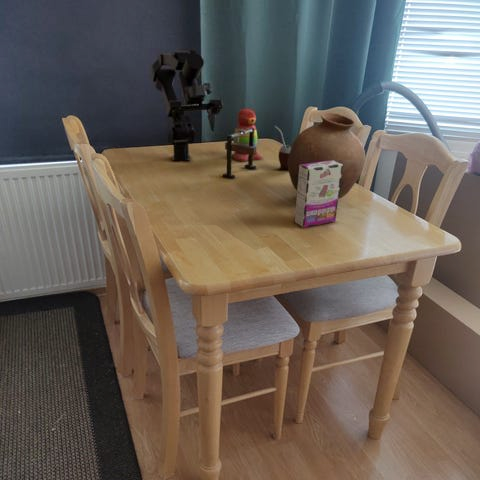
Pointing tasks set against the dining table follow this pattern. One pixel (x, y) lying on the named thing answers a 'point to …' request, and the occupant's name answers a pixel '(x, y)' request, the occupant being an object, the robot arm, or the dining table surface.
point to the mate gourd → (284, 154)
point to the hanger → (242, 146)
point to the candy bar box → (317, 193)
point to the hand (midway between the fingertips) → (200, 131)
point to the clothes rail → (229, 152)
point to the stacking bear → (245, 123)
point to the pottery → (329, 149)
